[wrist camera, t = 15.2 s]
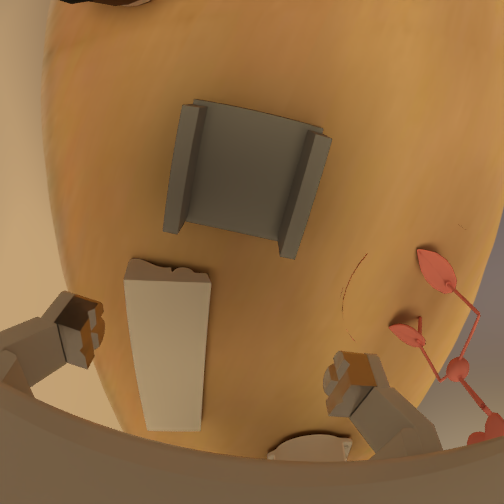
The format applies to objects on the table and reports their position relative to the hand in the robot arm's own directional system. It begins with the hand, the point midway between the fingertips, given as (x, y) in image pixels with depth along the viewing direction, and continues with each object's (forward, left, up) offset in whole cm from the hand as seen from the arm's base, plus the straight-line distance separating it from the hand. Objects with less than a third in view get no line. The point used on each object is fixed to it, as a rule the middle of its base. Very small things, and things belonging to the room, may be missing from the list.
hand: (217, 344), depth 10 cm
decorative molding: (-26, +15, -24) cm, 38 cm away
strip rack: (0, 0, -25) cm, 25 cm away
